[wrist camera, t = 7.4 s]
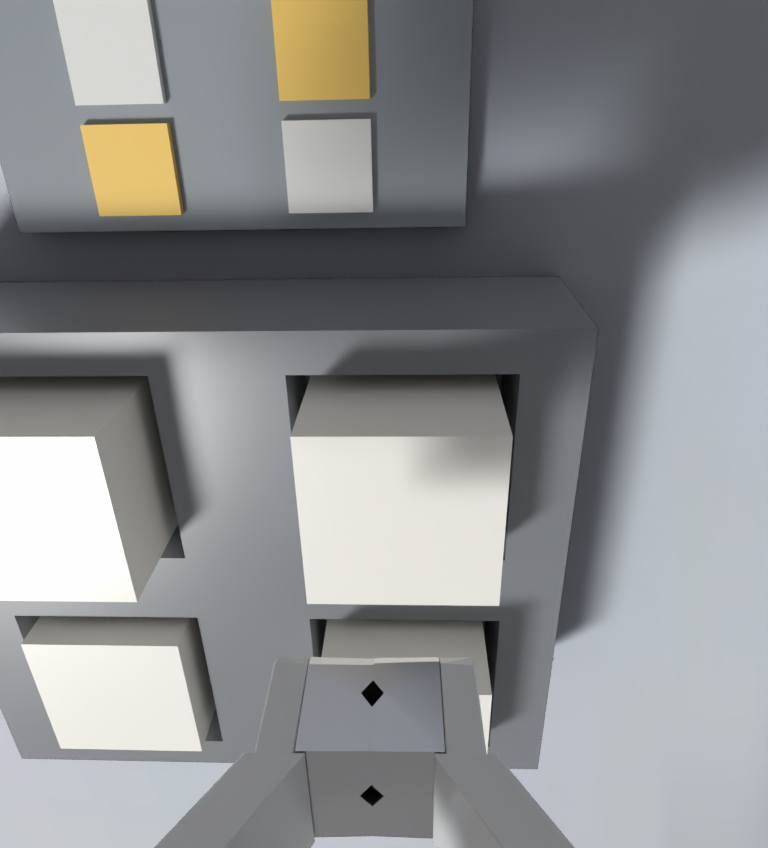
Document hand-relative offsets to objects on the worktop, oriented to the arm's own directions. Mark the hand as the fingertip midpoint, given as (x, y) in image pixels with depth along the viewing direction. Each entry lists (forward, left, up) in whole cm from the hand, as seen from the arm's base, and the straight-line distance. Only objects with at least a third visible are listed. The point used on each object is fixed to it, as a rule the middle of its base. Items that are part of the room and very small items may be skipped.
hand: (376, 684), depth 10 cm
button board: (+4, +3, -10) cm, 11 cm away
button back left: (+8, +7, -8) cm, 13 cm away
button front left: (+8, 0, -7) cm, 10 cm away
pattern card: (+4, -8, -10) cm, 13 cm away
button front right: (0, 0, -7) cm, 7 cm away
